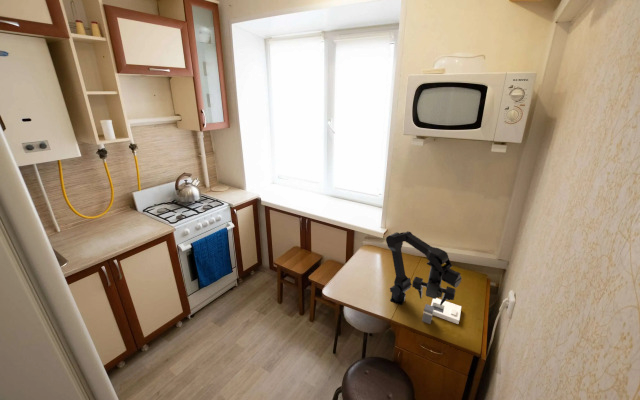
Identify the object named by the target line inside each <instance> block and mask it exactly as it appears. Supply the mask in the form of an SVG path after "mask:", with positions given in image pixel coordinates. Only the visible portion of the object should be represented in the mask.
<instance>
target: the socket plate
mask: <svg viewBox="0 0 640 400" xmlns="http://www.w3.org/2000/svg"><path fill="white" fill-rule="evenodd" d="M441 300H442V298H436V299H433V298H432V300H431V304H430V305H431V306H434V311H433V315H432V316H434V317H437V318H440V319H442V320H445V321H448V322H450V323H454V324H457V325H459V322H460V319H461V311H462V305H458V304H455V303H452V302H450V301H448V300H446V301H445V302H444V303H443V304H442V305H441V306H440V304H441Z"/></svg>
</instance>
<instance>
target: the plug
mask: <svg viewBox="0 0 640 400" xmlns="http://www.w3.org/2000/svg"><path fill="white" fill-rule="evenodd" d="M433 311H434V306H431V304H428V303H425V305H424V309H423V314H422V319H421V322H423V323H425V324H429V325H431V323H432V319H433V316H434V315H433Z"/></svg>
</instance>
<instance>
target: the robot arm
mask: <svg viewBox="0 0 640 400" xmlns="http://www.w3.org/2000/svg"><path fill="white" fill-rule="evenodd" d="M385 242H386V245H387V247H388V249H389V250H390V251H391V255H392V261H393V267H394V273H395V279H394V282H393V283H394V285H393V286H391V287H390V288H389V292H390V293H391V297H390V300H389V301H390V302H392V303H395V304H397V305H400V306H403V304H404V303H405V302H406V301H405V300H406V292H407V291H408V290H409V289H411V287H413V288H414V289H415V290H417V291H418V295H419V298H420V300H422V297H423V288H426V291H425V296H426V297H427V298H431V299H432V300H433V299H436V298H438V299H440V298H441V304H440V306H441V305H442V304H443V303H444V302H445V301H454V300H455V297H456V289H457V287H459V286H460V284H461V283H462V275H461V273H460V272H459V271H456V270H453V269H451V268H452V267H453V264H452V263H451V260H450V258H449V255H448V252H447V251H445V250H443V249H441V248H439V247H434V246H431V245H430V244H428V243H427V242H425V241H423V240H422V239H420V238H419V237H417V236H416V235H414V234H413V233H412V232H411V231H404V232H398V231H397V232H394V233H391V234H390V235H389V234H388V235H387V236H386V237H385ZM404 242H405V243H407V244H408V245H410V246H411V247H413V248H414V249H416V250H417V251H419V253H422V254H423V255H424V256H425V257H426V259H427V261H428V262H426V265H428V266H430V269H429V274H428V280H427V282H424V279H423V278H421V277H418V276H414V279H412V281H411V278H410V277H408V276H407V274H406V271H405V266H404V259H403V254H402V253H403V252H402V247H403V245H404ZM443 264H444V265H443ZM442 281H443V282H445V283H446V284H448V285H450V286H451V287H450V286H446V288H445V287H442V286H441V285H442ZM455 288H456V289H455Z"/></svg>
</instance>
